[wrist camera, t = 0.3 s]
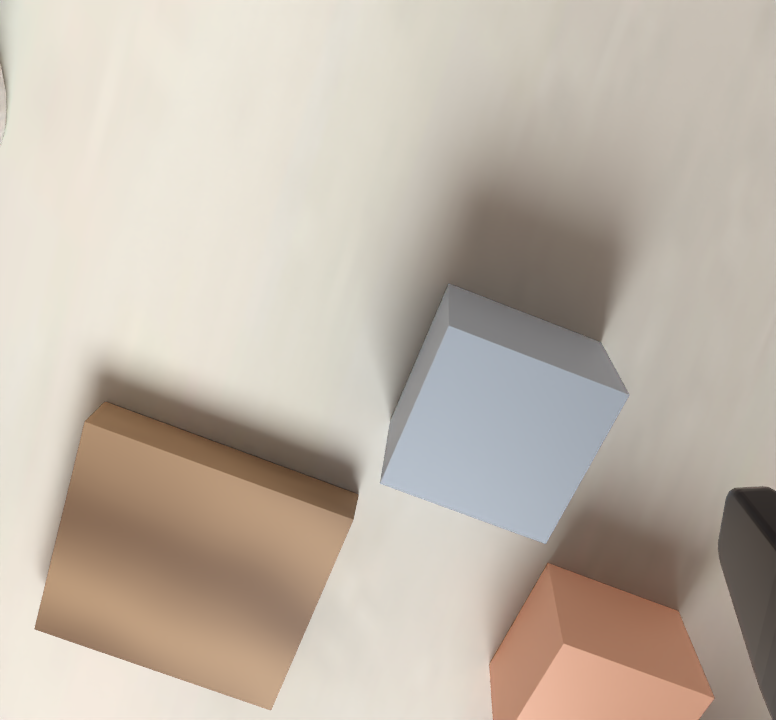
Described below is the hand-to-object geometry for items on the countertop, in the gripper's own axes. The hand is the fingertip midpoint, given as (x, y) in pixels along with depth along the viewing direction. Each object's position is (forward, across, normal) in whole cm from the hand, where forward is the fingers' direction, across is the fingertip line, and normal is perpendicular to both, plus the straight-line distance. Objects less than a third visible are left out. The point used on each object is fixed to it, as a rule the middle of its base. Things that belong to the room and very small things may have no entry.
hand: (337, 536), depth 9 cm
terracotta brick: (+12, -6, +17) cm, 21 cm away
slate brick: (+14, -3, +7) cm, 15 cm away
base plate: (+13, +8, +13) cm, 20 cm away
